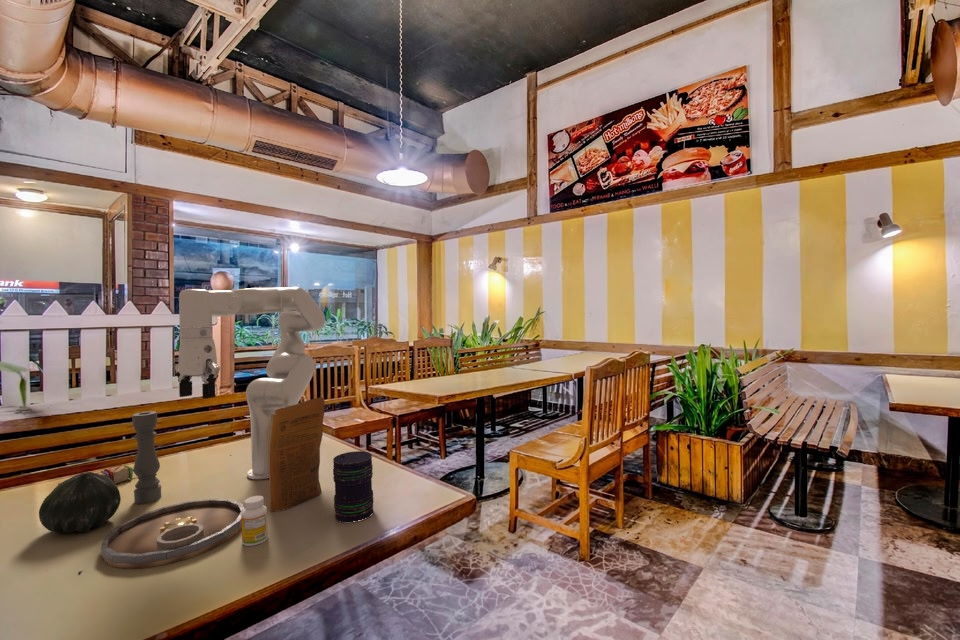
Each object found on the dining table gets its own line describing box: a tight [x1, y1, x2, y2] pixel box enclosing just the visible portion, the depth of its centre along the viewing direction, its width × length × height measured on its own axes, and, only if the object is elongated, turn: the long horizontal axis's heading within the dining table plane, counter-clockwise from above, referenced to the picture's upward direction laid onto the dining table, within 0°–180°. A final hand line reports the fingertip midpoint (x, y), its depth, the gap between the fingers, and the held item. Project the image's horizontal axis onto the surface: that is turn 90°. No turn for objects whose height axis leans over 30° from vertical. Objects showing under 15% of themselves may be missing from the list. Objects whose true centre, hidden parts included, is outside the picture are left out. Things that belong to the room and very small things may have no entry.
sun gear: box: [160, 517, 197, 534], centre depth 106 cm, size 7×7×2 cm
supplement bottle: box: [241, 495, 269, 547], centre depth 102 cm, size 5×5×10 cm
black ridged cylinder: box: [332, 450, 375, 523], centre depth 114 cm, size 10×10×15 cm
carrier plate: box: [102, 506, 242, 570], centre depth 106 cm, size 28×28×4 cm
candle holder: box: [131, 410, 162, 505], centre depth 127 cm, size 6×6×25 cm
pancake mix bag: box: [268, 396, 326, 512], centre depth 123 cm, size 7×19×28 cm, turn 148°
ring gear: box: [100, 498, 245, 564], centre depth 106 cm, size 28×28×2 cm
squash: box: [38, 471, 122, 534], centre depth 111 cm, size 14×15×15 cm
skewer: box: [57, 464, 134, 486], centre depth 139 cm, size 21×6×5 cm, turn 150°
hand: (197, 397), depth 120 cm, fingers open, 9 cm apart
